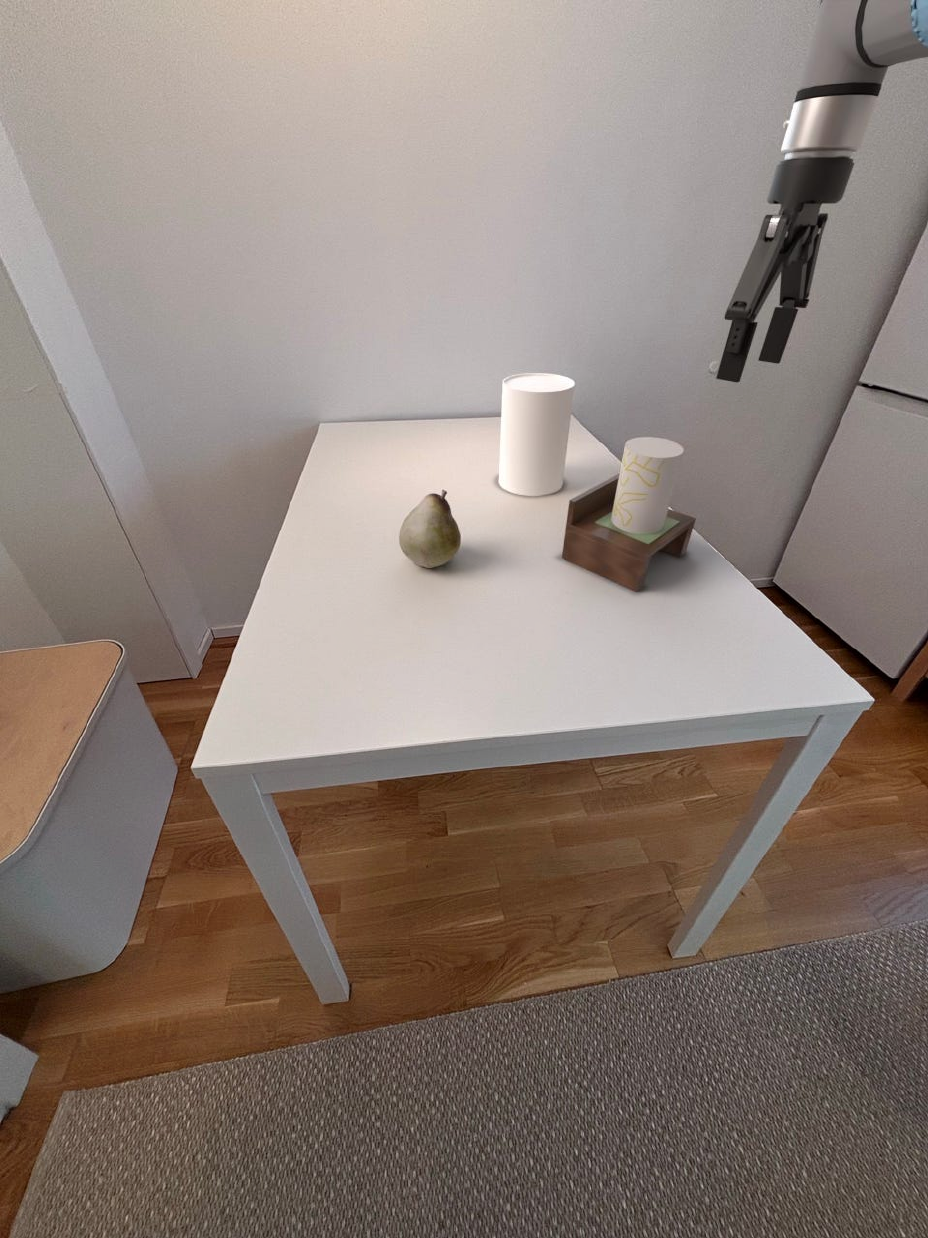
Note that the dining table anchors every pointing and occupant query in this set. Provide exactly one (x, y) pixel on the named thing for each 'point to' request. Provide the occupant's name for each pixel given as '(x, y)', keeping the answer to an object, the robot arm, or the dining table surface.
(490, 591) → the dining table surface
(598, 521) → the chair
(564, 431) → the canister
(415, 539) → the fruit
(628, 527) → the white round cylinder
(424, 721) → the dining table surface
